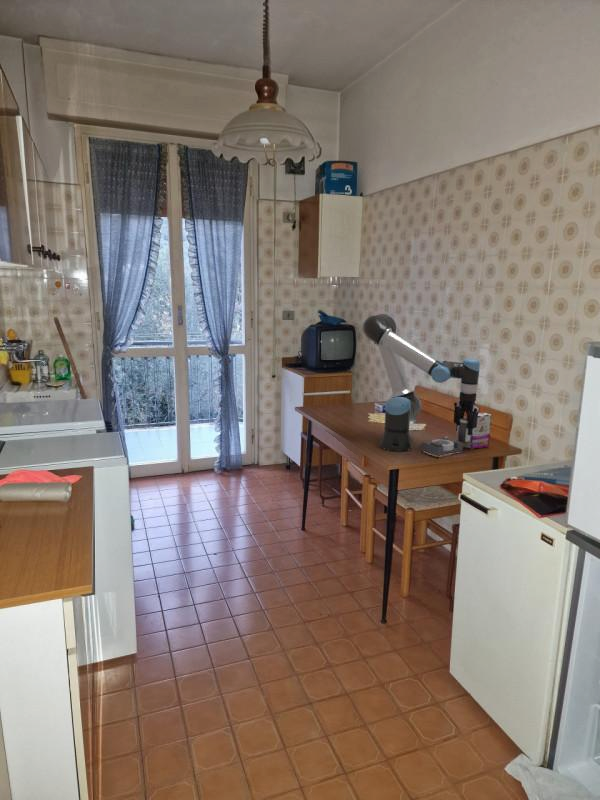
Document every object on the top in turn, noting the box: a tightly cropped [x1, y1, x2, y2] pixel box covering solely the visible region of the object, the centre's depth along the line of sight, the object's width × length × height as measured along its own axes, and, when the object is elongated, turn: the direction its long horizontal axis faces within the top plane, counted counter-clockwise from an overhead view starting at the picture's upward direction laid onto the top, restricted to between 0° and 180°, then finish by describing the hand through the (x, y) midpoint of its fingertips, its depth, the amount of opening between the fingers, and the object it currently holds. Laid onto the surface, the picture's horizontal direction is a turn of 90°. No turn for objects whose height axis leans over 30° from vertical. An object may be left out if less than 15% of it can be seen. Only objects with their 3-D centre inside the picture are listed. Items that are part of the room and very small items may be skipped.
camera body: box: [421, 436, 464, 456], centre depth 252 cm, size 16×10×6 cm, turn 122°
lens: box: [457, 417, 468, 445], centre depth 256 cm, size 5×5×12 cm
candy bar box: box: [464, 412, 492, 450], centre depth 260 cm, size 11×5×16 cm, turn 114°
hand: (463, 439), depth 257 cm, fingers closed on lens, 5 cm apart
